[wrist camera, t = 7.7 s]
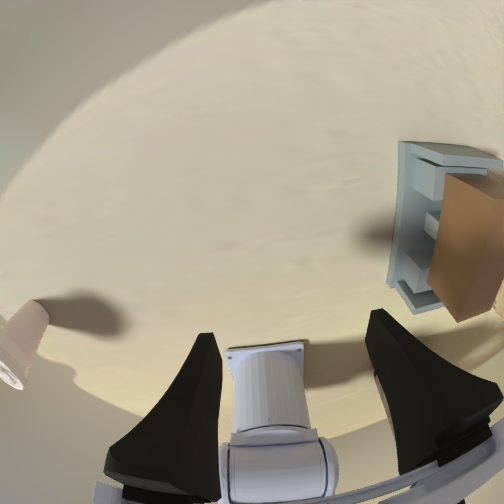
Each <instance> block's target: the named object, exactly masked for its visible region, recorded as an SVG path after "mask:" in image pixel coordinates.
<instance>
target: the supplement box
mask: <svg viewBox="0 0 504 504" xmlns="http://www.w3.org/2000/svg"><path fill="white" fill-rule="evenodd" d="M492 307H493V309H494V310H495V311H496V312H497V313H498V315H499V316H500V317H501V319H502V320H503V321H504V279H503V281H502V284H501V286H500V289H499V291H498V294H497V296H496V299H495V301H494V303H493V305H492Z"/></svg>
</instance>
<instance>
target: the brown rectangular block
mask: <svg viewBox="0 0 504 504" xmlns="http://www.w3.org/2000/svg"><path fill="white" fill-rule="evenodd" d="M503 279H504V186H503V185H501V184H499V183H497V182H495V181H493V180H491V179H489V178H487V177H485V176H483V175H481V174H469V173H445V182H444V192H443V200H442V208H441V215H440V221H439V227H438V233H437V238H436V243H435V248H434V253H433V257H432V262H431V266H430V270H429V274H428V278H427V284H428V285H429V286H430V287H431V289H432V290H433V291H434V292H435V294H436V295H437V296H438V298H439V299H440V300H441V301H442V303H443V304H444V305H445V307H446V308H447V309H448V311H449V312H450V314H451V315H452V316H453V318H454V319H455V320H456V322H457V323H458V322H461V321H464V320H466V319H469V318H472V317H474V316H477V315H479V314H482V313H484V312H487V311H489V310H491V308H492V305H493V303H494V301H495V299H496V296H497V294H498V291H499V289H500V286H501V284H502V281H503Z"/></svg>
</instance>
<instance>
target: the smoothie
mask: <svg viewBox="0 0 504 504" xmlns="http://www.w3.org/2000/svg"><path fill="white" fill-rule="evenodd" d="M49 320H50V318H49V315H48V313H47V311H46V310H45V309H44V307H43V306H42V305H41V304H39V303H38V302H36V301H34V300H29V301H28V302H27V303H26V304H25V305H24V306H22V307H21V308H20V309H19V310H18V311H17V312H16V313H15V314H14V315H13V316H12V317H11V318H10V319H9V320H8V322H7V323H6V324H5V325H4V326H3V327H2V328H1V329H0V378H1V379H2V380H3V381H5V382H6V383H7V384H9V385H11V386H12V387H14V388H16V389H19V390H23V389H24V388H25V386H26V385H27V383H28V381H27V375H28V372H29V370H30V367H31V364H32V361H33V359H34V356H35V354H36V351H37V349H38V346H39V344H40V341H41V339H42V337H43V334H44V332H45V330H46V327H47V325H48V323H49Z"/></svg>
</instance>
